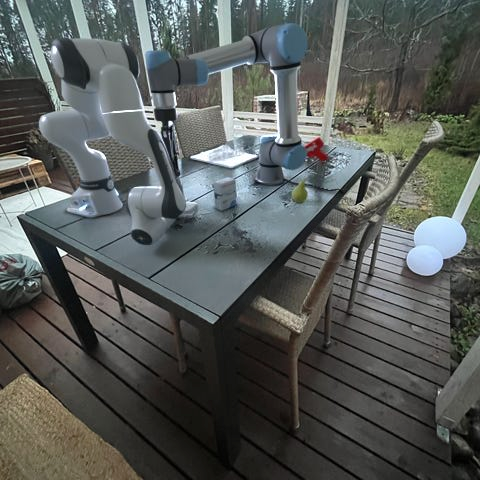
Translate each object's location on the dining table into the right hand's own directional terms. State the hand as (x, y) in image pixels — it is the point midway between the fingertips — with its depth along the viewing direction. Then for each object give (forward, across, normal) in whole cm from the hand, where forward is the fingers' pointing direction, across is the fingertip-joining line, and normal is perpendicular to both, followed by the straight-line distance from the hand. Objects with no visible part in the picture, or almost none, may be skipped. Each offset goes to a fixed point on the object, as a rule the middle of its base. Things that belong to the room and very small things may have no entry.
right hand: (174, 175), depth 102 cm
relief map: (+17, -80, +19) cm, 84 cm away
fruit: (+17, -9, +52) cm, 55 cm away
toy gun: (+17, -68, +74) cm, 102 cm away
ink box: (+17, -7, +19) cm, 26 cm away
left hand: (+10, -1, 0) cm, 10 cm away
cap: (-1, 0, 0) cm, 1 cm away
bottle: (+17, 0, 0) cm, 17 cm away
